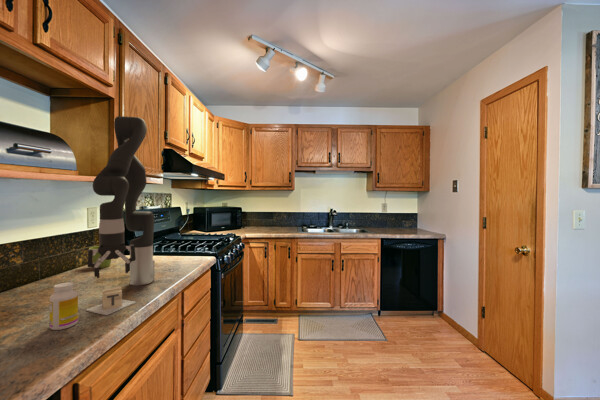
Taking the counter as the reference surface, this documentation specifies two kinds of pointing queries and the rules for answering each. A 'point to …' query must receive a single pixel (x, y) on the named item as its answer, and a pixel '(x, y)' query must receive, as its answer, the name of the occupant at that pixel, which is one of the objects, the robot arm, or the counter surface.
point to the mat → (100, 310)
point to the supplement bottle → (63, 306)
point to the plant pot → (96, 257)
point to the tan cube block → (111, 298)
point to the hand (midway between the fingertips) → (112, 275)
